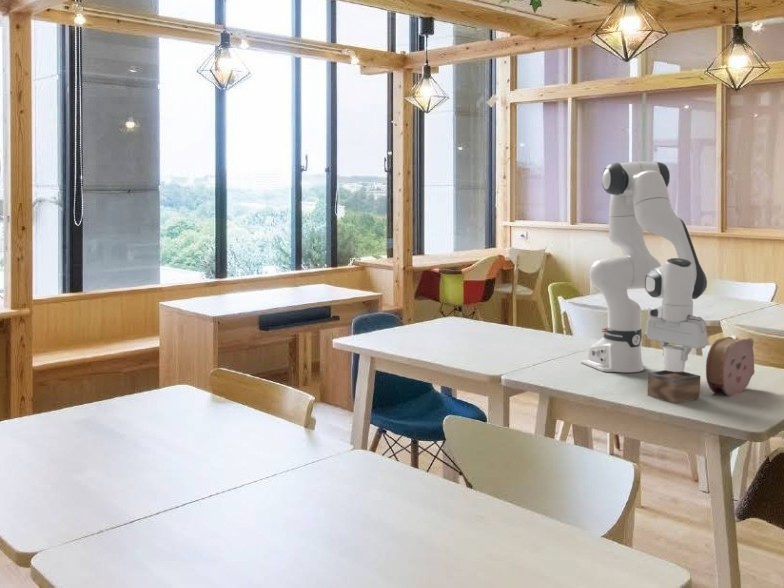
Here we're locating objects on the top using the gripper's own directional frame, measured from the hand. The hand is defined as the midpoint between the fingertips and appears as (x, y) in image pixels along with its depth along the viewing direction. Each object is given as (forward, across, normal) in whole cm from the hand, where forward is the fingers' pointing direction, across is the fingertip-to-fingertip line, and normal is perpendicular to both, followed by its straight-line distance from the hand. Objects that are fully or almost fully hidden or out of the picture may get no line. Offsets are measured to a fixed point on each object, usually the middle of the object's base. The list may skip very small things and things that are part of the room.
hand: (675, 358), depth 244 cm
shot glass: (+4, 0, 0) cm, 4 cm away
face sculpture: (+12, -4, -20) cm, 24 cm away
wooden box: (+12, 0, 0) cm, 12 cm away
